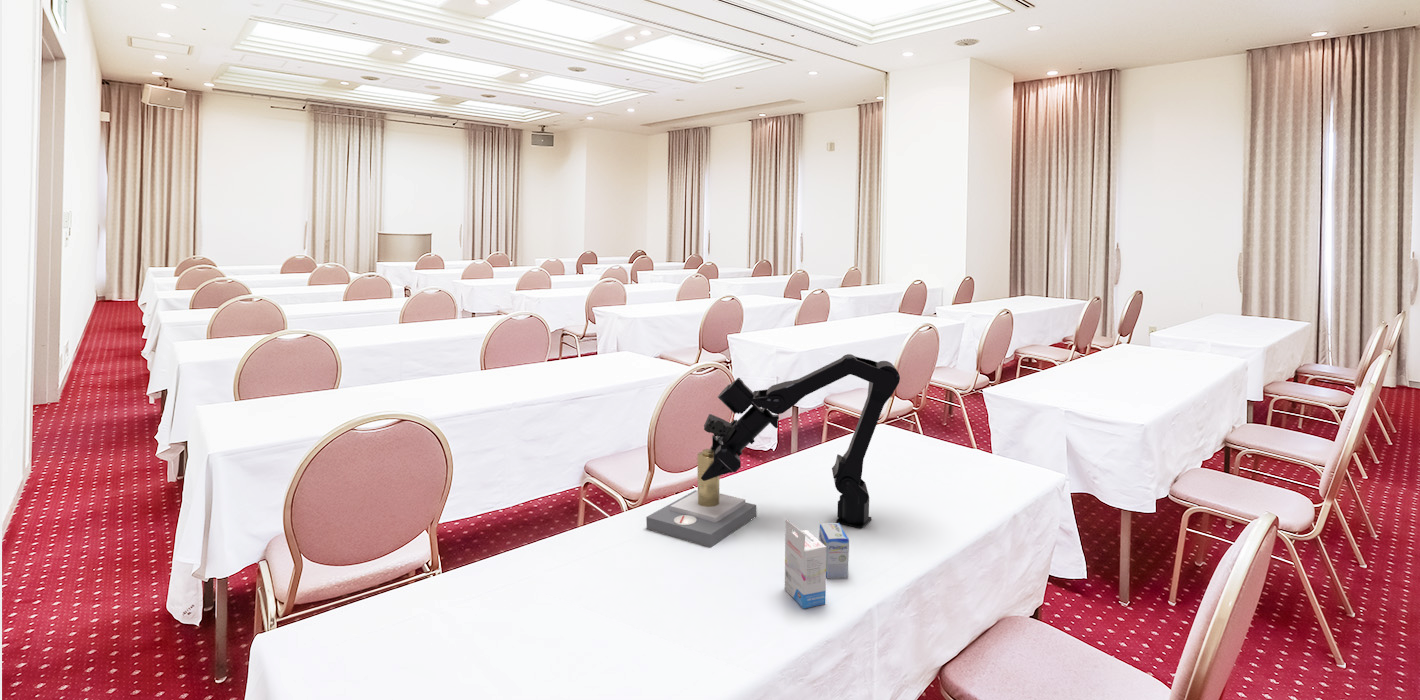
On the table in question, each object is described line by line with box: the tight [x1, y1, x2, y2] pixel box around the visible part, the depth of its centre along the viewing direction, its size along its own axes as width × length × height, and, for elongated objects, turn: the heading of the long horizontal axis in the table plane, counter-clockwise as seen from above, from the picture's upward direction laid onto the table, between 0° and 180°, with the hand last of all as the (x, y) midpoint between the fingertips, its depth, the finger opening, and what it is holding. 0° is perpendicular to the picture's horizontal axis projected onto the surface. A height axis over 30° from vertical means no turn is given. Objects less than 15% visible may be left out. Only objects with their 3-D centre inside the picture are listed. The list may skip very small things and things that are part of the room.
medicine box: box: [818, 522, 850, 580], centre depth 153 cm, size 8×4×9 cm, turn 5°
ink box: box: [784, 518, 827, 610], centre depth 142 cm, size 8×5×15 cm, turn 20°
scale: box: [645, 489, 757, 548], centre depth 177 cm, size 18×20×4 cm
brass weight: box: [696, 448, 720, 507], centre depth 178 cm, size 5×5×13 cm
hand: (702, 472), depth 178 cm, fingers open, 9 cm apart
